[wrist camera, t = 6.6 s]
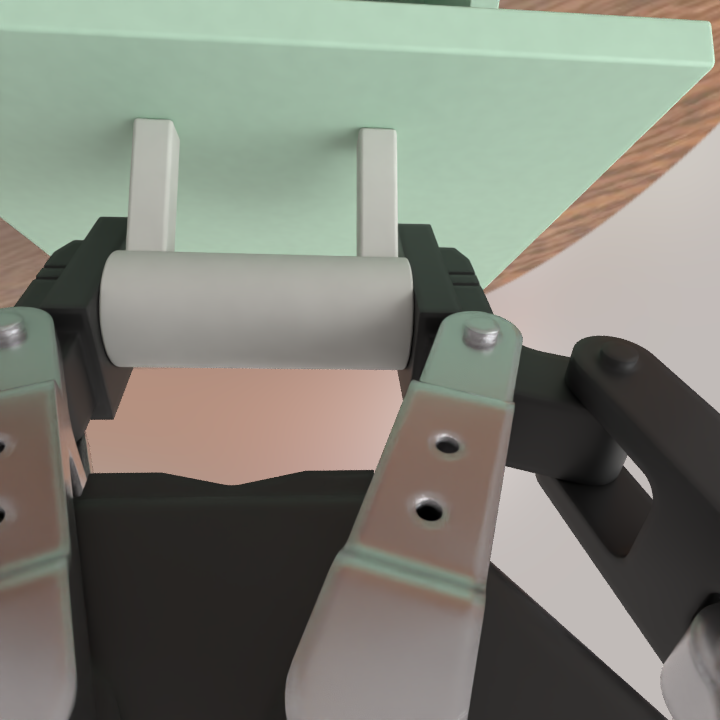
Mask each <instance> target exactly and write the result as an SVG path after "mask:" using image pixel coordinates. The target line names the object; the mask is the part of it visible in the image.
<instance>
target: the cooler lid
mask: <svg viewBox="0 0 720 720" xmlns="http://www.w3.org/2000/svg"><path fill="white" fill-rule="evenodd" d="M714 63H715V59H714V49H713V39H712V29H711V23H710V22H708V21H701V20H684V19H667V18H650V17H633V16H616V15H599V14H582V13H565V12H547V11H530V10H513V9H496V8H479V7H462V6H445V5H428V4H411V3H394V2H377V1H360V0H0V217H1V218H2V219H3V220H5V221H6V222H7V223H8V224H10V225H11V226H12V227H14V228H15V229H16V230H17V231H19V232H20V233H21V234H23V235H24V236H25V237H26V238H28V239H29V240H30V241H32V242H33V243H34V244H35V245H37V246H38V247H39V248H41V249H42V250H43V251H44V252H46V253H47V254H48V255H50V256H51V255H52V254H53V253H54V252H55V251H56V250H58V249H60V248H61V247H63V246H65V245H66V244H68V243H70V242H71V241H73V240H84V239H85V237H86V236H87V235H88V233H89V232H90V230H91V229H92V227H93V226H94V224H95V223H96V221H97V220H98V218H99V217H128V219H127V236H126V250H117V251H114V252H112V253H111V254H110V256H109V257H108V259H107V261H106V263H105V266H104V269H103V273H102V278H101V284H100V293H99V320H100V329H101V335H102V340H103V344H104V348H105V351H106V353H107V356H108V358H109V359H110V361H111V362H112V363H113V364H114V365H116V366H118V367H174V368H267V369H269V368H270V369H271V368H272V369H276V368H277V369H361V370H362V369H363V370H403V369H405V368H406V366H407V363H408V360H409V356H410V351H411V345H412V336H413V321H414V291H413V278H412V271H411V267H410V263H409V261H408V259H407V258H402V257H398V223H402V224H430V225H431V227H432V230H433V232H434V235H435V238H436V240H437V243H438V246H439V247H451V248H455V249H457V250H458V251H459V252H461V253H462V254H463V255H464V256H466V257H467V258H468V259H469V260H470V262H471V265H472V267H473V269H474V271H475V275H476V276H477V278H478V280H479V283H480V286H481V287H482V289H484V288H485V287H487V286H488V285H489V284H490V283H491V282H492V281H493V280H494V279H495V278H496V277H497V276H498V275H499V274H500V273H501V272H502V271H503V270H504V269H505V268H506V267H507V266H508V265H509V264H510V263H511V262H512V261H513V260H514V259H515V258H516V257H518V256H519V255H520V254H521V253H522V252H523V251H524V250H525V249H526V248H527V247H528V246H529V245H530V244H531V243H532V242H533V241H534V240H535V239H536V238H537V237H538V236H539V235H540V234H541V233H542V232H543V231H544V230H545V229H546V228H547V227H549V226H550V225H551V224H552V223H553V222H554V221H555V220H556V219H557V218H558V217H559V216H560V215H561V214H562V213H563V212H564V211H565V210H566V209H567V208H568V207H569V206H570V205H571V204H572V203H573V202H574V201H575V200H576V199H577V198H578V197H579V196H581V195H582V194H583V193H584V192H585V191H586V190H587V189H588V188H589V187H590V186H591V185H592V184H593V183H594V182H595V181H596V180H597V179H598V178H599V177H600V176H601V175H602V174H603V173H604V172H605V171H606V170H607V169H608V168H609V167H610V166H612V165H613V164H614V163H615V162H616V161H617V160H618V159H619V158H620V157H621V156H622V155H623V154H624V153H625V152H626V151H627V150H628V149H629V148H630V147H631V146H632V145H633V144H634V143H635V142H636V141H637V140H638V139H639V138H640V137H641V136H643V135H644V134H645V133H646V132H647V131H648V130H649V129H650V128H651V127H652V126H653V125H654V124H655V123H656V122H657V121H658V120H659V119H660V118H661V117H662V116H663V115H664V114H665V113H666V112H667V111H668V110H669V109H670V108H671V107H672V106H674V105H675V104H676V103H677V102H678V101H679V100H680V99H681V98H682V97H683V96H684V95H685V94H686V93H687V92H688V91H689V90H690V89H691V88H692V87H693V86H694V85H695V84H696V83H697V82H698V81H699V80H700V79H701V78H702V77H703V76H704V75H706V74H707V73H708V72H709V71H710V70H711V69H712V68H713V66H714Z"/></svg>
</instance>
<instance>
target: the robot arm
mask: <svg viewBox="0 0 720 720" xmlns="http://www.w3.org/2000/svg"><path fill="white" fill-rule="evenodd" d="M127 219H128V217H99V218H98V220H97V221H96V223H95V224H94V226H93V227H92V229H91V230H90V232H89V233H88V235H87V236H86V237H85V239H84V240H73V241H71V242H70V243H68V244H66V245H65V246H63V247H61V248H60V249H58V250H56V251H55V252H54V253H53V254H52V255H51V257H50V258H49V259H48V261H47V262H46V264H45V265H44V268H42V269H41V270H40V272H39V273H38V274H37V276H36V279H34V280H33V281H32V283H31V284H30V285H29V287H28V288H27V289H26V291H25V292H24V294H23V295H22V296H21V298H20V299H19V300H18V302H17V303H16V304H15V306H14V307H9V308H2V309H0V720H668V719H667V718H666V717H664V716H663V715H662V714H661V713H660V712H659V711H658V710H657V709H656V708H654V707H653V706H652V705H651V704H650V703H649V702H648V701H647V700H645V699H644V698H643V697H642V696H641V695H640V694H639V693H638V692H636V691H635V690H634V689H633V688H632V687H631V686H630V685H629V684H628V683H626V682H625V681H624V680H623V679H622V678H621V677H620V676H618V675H617V674H616V673H615V672H614V671H613V670H612V669H611V668H610V667H608V666H607V665H606V664H605V663H604V662H603V661H602V660H601V659H599V658H598V657H597V656H596V655H595V654H594V653H593V652H592V651H591V650H589V649H588V648H587V647H586V646H585V645H584V644H583V643H581V642H580V641H579V640H578V639H577V638H576V637H575V636H573V635H572V634H571V633H570V632H569V631H568V630H567V629H566V628H565V627H564V626H562V625H561V624H560V623H559V622H558V621H557V620H556V619H555V618H554V617H552V616H551V615H550V614H549V613H548V612H547V611H546V610H545V609H543V608H542V607H541V606H540V605H539V604H538V603H537V602H536V601H534V600H533V599H532V598H531V597H530V596H529V595H528V594H527V593H525V592H524V591H523V590H522V589H521V588H520V587H519V586H518V585H516V584H515V583H514V582H513V581H512V580H511V579H510V578H509V577H508V576H506V575H505V574H504V573H503V572H502V571H501V570H500V569H499V568H497V567H496V566H495V565H494V564H493V563H492V562H491V561H490V557H491V550H492V544H493V538H494V532H495V525H496V520H497V513H498V507H499V501H500V494H501V489H502V483H503V476H504V470H505V466H507V467H512V468H516V469H520V470H524V471H528V472H532V473H535V474H536V478H537V481H538V482H539V484H540V486H541V487H542V489H543V490H544V492H545V493H546V495H547V496H548V497H549V498H550V500H551V501H552V503H553V505H554V506H555V508H556V509H557V510H558V512H559V513H560V515H561V516H562V518H563V519H564V520H565V522H566V524H567V525H568V526H569V528H570V529H571V531H572V532H573V534H574V535H575V537H576V538H577V539H578V541H579V542H580V544H581V545H582V547H583V548H584V549H585V551H586V552H587V554H588V555H589V557H590V558H591V560H592V561H593V563H594V564H595V566H596V567H597V568H598V570H599V571H600V573H601V574H602V576H603V577H604V579H605V580H606V581H607V583H608V584H609V585H610V587H611V589H612V590H613V592H614V593H615V595H616V596H617V597H618V599H619V600H620V602H621V603H622V605H623V606H624V607H625V609H626V610H627V612H628V613H629V615H630V616H631V618H632V619H633V620H634V622H635V623H636V625H637V626H638V628H639V629H640V631H641V632H642V634H643V635H644V637H645V638H646V639H647V641H648V642H649V644H650V645H651V647H652V648H653V650H654V651H655V652H656V654H657V655H658V657H659V658H660V660H661V661H662V663H663V664H664V665H663V668H662V671H661V677H660V678H661V689H662V695H663V698H664V700H665V703H666V705H667V708H668V709H669V711H670V713H671V715H672V717H673V718H672V720H720V414H719V413H718V412H717V411H716V410H715V409H714V408H713V407H712V406H710V405H709V404H708V403H707V402H706V401H705V400H704V399H703V398H701V397H700V396H699V395H698V394H697V393H696V392H695V391H694V390H692V389H691V388H690V387H689V386H688V385H687V384H686V383H684V382H683V381H682V380H681V379H680V378H679V377H678V376H677V375H675V374H674V373H673V372H672V371H671V370H670V369H669V368H667V367H666V366H665V365H664V364H663V363H662V362H661V361H660V360H658V359H657V358H656V357H655V356H654V355H653V354H652V353H650V352H649V351H648V350H646V349H644V348H643V347H641V346H639V345H637V344H635V343H633V342H630V341H627V340H624V339H621V338H616V337H610V336H592V337H587V338H584V339H581V340H580V341H579V342H577V343H576V344H575V346H574V348H573V351H572V354H571V357H566V356H561V355H556V354H551V353H546V352H541V351H537V350H534V349H531V348H528V347H525V346H523V345H522V342H523V341H522V340H523V337H522V335H521V332H520V331H519V329H518V328H517V327H516V326H515V325H513V324H512V323H511V322H509V321H508V320H506V319H504V318H502V317H500V316H497V315H494V314H493V312H492V310H491V307H490V305H489V303H488V301H487V298H486V296H485V294H484V292H483V289H482V287H481V286H480V283H479V280H478V278H477V276H476V275H475V271H474V269H473V267H472V265H471V262H470V260H469V259H468V258H467V257H466V256H464V255H463V254H462V253H461V252H459V251H458V250H457V249H455V248H451V247H439V246H438V243H437V240H436V238H435V235H434V232H433V230H432V227H431V225H430V224H402V223H398V257H402V258H407V259H408V261H409V263H410V267H411V271H412V278H413V291H414V321H413V336H412V345H411V351H410V356H409V360H408V363H407V366H406V368H405V369H403V370H398V376H399V381H400V386H401V392H402V397H403V402H402V405H401V407H400V410H399V412H398V415H397V417H396V420H395V423H394V425H393V427H392V430H391V433H390V435H389V438H388V440H387V443H386V445H385V448H384V450H383V453H382V455H381V458H380V460H379V463H378V466H377V468H376V470H375V473H374V470H344V471H343V470H338V471H303V472H298V473H293V474H288V475H284V476H279V477H274V478H269V479H265V480H260V481H255V482H251V483H245V484H241V485H223V484H217V483H213V482H208V481H202V480H197V479H192V478H187V477H182V476H176V475H171V474H166V473H93V466H92V460H91V453H90V448H89V443H88V439H87V435H86V432H85V430H86V428H87V426H88V423H89V421H90V420H101V419H102V420H103V419H104V420H105V419H106V420H110V419H111V420H112V419H114V417H115V414H116V412H117V409H118V406H119V404H120V401H121V398H122V396H123V393H124V391H125V388H126V385H127V383H128V380H129V377H130V375H131V372H132V370H133V367H118V366H116V365H114V364H113V363H112V362H111V361H110V359H109V358H108V356H107V353H106V351H105V348H104V344H103V340H102V335H101V329H100V320H99V293H100V284H101V278H102V273H103V269H104V266H105V263H106V261H107V259H108V257H109V256H110V254H111V253H112V252H114V251H117V250H126V236H127ZM627 455H628V456H629V457H630V458H631V459H632V460H633V461H634V463H635V464H636V465H637V466H638V467H639V468H640V469H641V470H642V472H643V473H644V474H645V476H646V477H647V479H648V481H649V483H650V485H651V488H652V493H653V499H652V498H651V497H650V496H649V495H648V494H647V493H646V491H645V490H644V489H643V488H642V487H641V485H640V484H639V483H638V482H637V481H636V480H635V479H634V477H633V476H632V475H631V474H630V473H629V472H628V471H627V469H626V468H625V467H624V466H623V464H624V462H625V460H626V457H627Z"/></svg>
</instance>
